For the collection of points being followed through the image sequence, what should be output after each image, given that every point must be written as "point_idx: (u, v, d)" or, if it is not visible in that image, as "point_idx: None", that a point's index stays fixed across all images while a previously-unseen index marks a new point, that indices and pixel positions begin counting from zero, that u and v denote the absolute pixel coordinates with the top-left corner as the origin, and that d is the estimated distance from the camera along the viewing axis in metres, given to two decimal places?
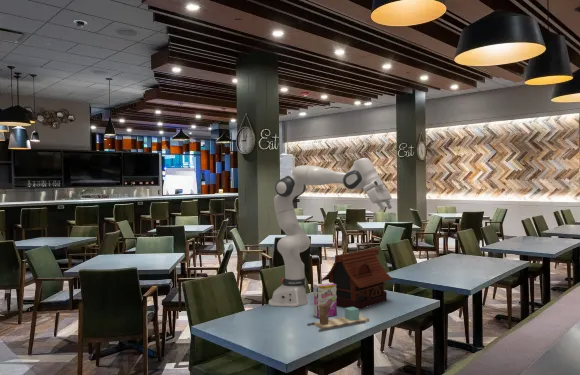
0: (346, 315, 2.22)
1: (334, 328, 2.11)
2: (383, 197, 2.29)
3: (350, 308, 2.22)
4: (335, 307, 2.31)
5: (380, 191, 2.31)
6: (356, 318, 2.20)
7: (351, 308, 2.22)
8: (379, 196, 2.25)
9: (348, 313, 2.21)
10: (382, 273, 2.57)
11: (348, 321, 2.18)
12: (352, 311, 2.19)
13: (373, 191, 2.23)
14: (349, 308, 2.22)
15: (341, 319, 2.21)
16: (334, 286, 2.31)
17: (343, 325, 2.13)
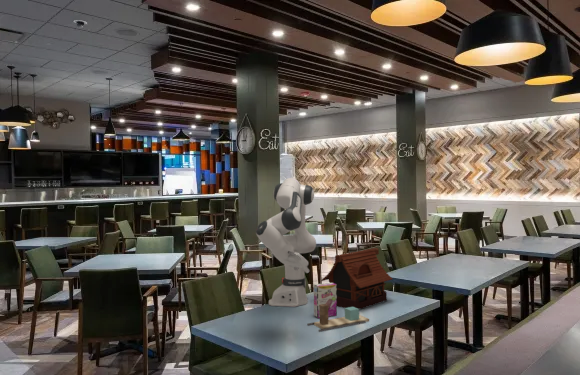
0: (346, 315, 2.22)
1: (334, 328, 2.11)
2: (290, 264, 2.08)
3: (350, 308, 2.22)
4: (335, 307, 2.31)
5: (286, 259, 2.06)
6: (356, 318, 2.20)
7: (351, 308, 2.22)
8: (284, 262, 2.12)
9: (348, 313, 2.21)
10: (382, 273, 2.57)
11: (348, 321, 2.18)
12: (352, 311, 2.19)
13: None
14: (349, 308, 2.22)
15: (341, 319, 2.21)
16: (334, 286, 2.31)
17: (343, 325, 2.13)
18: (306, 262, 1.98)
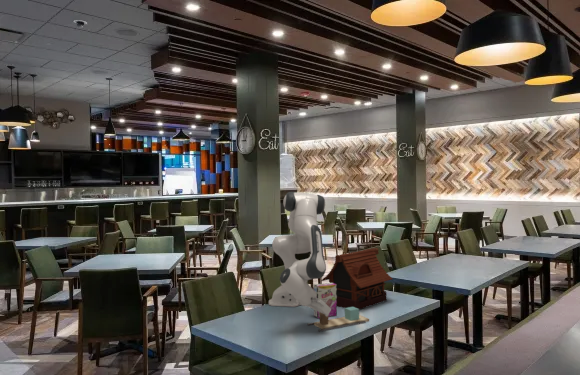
0: (346, 315, 2.22)
1: (334, 328, 2.11)
2: (313, 308, 2.14)
3: (350, 308, 2.22)
4: (335, 307, 2.31)
5: None
6: (356, 318, 2.20)
7: (351, 308, 2.22)
8: (307, 305, 2.18)
9: (348, 313, 2.21)
10: (382, 273, 2.57)
11: (348, 321, 2.18)
12: (352, 311, 2.19)
13: None
14: (349, 308, 2.22)
15: (341, 319, 2.21)
16: (334, 286, 2.31)
17: (343, 325, 2.13)
18: (328, 309, 2.04)
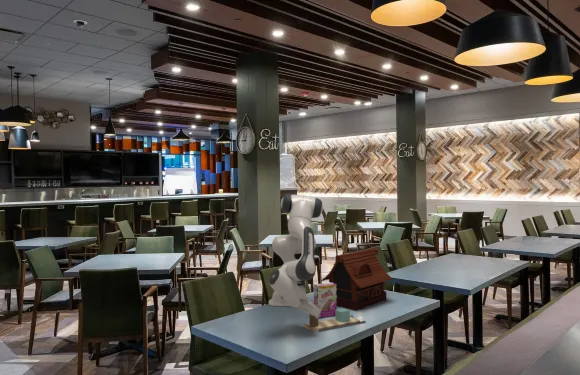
0: (336, 317, 2.20)
1: (334, 328, 2.11)
2: (302, 310, 2.12)
3: (341, 310, 2.20)
4: (335, 307, 2.31)
5: None
6: (347, 320, 2.18)
7: (342, 310, 2.20)
8: (297, 307, 2.15)
9: (338, 314, 2.18)
10: (382, 273, 2.57)
11: (338, 323, 2.15)
12: (343, 313, 2.17)
13: None
14: (340, 310, 2.20)
15: (332, 321, 2.18)
16: (334, 286, 2.31)
17: (343, 325, 2.13)
18: (318, 310, 2.02)
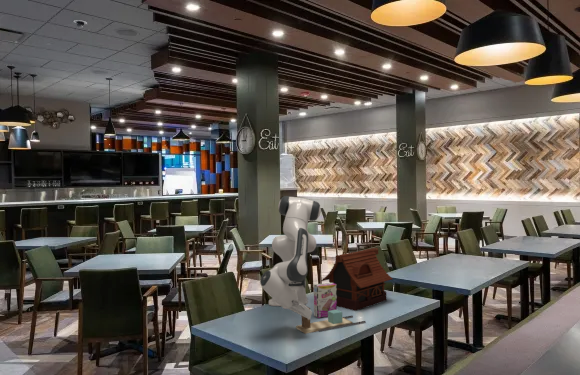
0: (329, 318, 2.18)
1: (334, 328, 2.11)
2: (294, 311, 2.10)
3: (333, 311, 2.18)
4: (335, 307, 2.31)
5: None
6: (339, 321, 2.16)
7: (334, 311, 2.18)
8: (289, 308, 2.13)
9: (331, 316, 2.16)
10: (382, 273, 2.57)
11: (331, 324, 2.13)
12: (335, 314, 2.15)
13: None
14: (332, 311, 2.18)
15: (324, 322, 2.16)
16: (334, 286, 2.31)
17: (343, 325, 2.13)
18: (310, 312, 2.00)
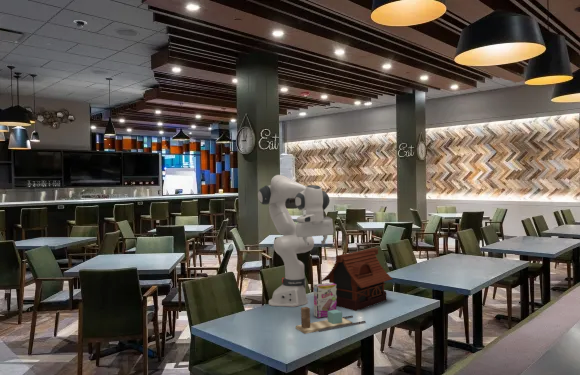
0: (328, 318, 2.18)
1: (334, 328, 2.11)
2: (313, 233, 2.24)
3: (333, 311, 2.18)
4: (335, 307, 2.31)
5: (315, 226, 2.25)
6: (339, 321, 2.16)
7: (334, 311, 2.18)
8: (305, 232, 2.22)
9: (330, 316, 2.16)
10: (382, 273, 2.57)
11: (331, 324, 2.13)
12: (335, 314, 2.15)
13: (299, 226, 2.21)
14: (332, 311, 2.18)
15: (324, 323, 2.16)
16: (334, 286, 2.31)
17: (343, 325, 2.13)
18: None
